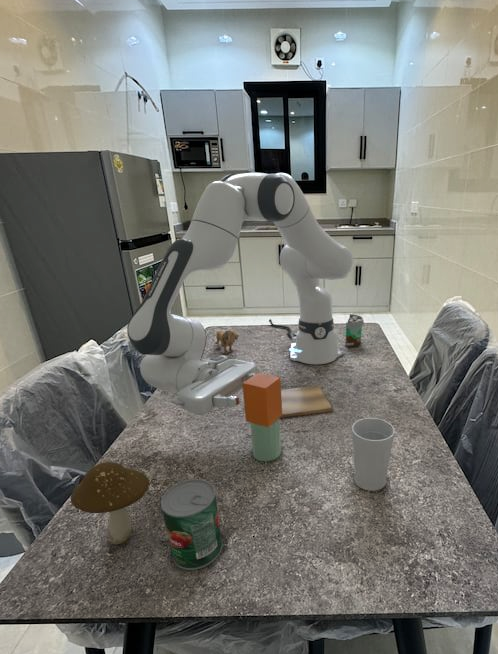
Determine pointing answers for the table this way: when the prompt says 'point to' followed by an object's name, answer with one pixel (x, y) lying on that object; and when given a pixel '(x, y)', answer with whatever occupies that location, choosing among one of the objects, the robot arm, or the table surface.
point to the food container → (354, 330)
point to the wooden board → (304, 401)
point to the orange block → (262, 399)
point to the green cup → (266, 441)
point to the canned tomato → (192, 523)
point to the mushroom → (111, 496)
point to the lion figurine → (226, 339)
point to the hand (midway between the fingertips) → (250, 392)
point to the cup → (371, 452)
